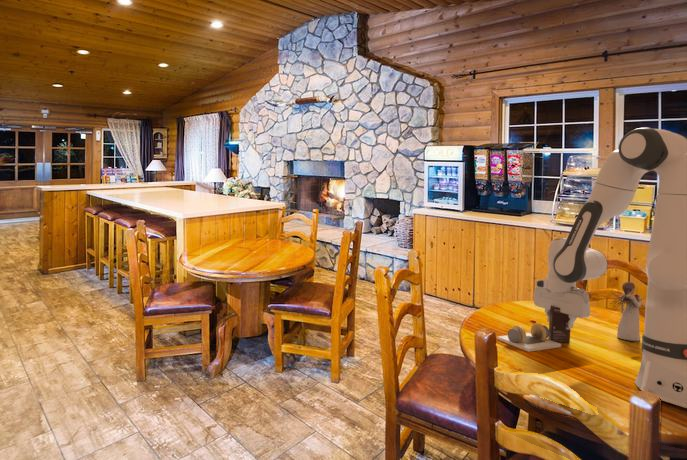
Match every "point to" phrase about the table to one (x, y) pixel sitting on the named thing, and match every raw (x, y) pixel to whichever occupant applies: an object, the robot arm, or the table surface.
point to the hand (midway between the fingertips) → (559, 324)
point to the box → (558, 326)
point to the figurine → (629, 313)
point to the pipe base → (529, 338)
